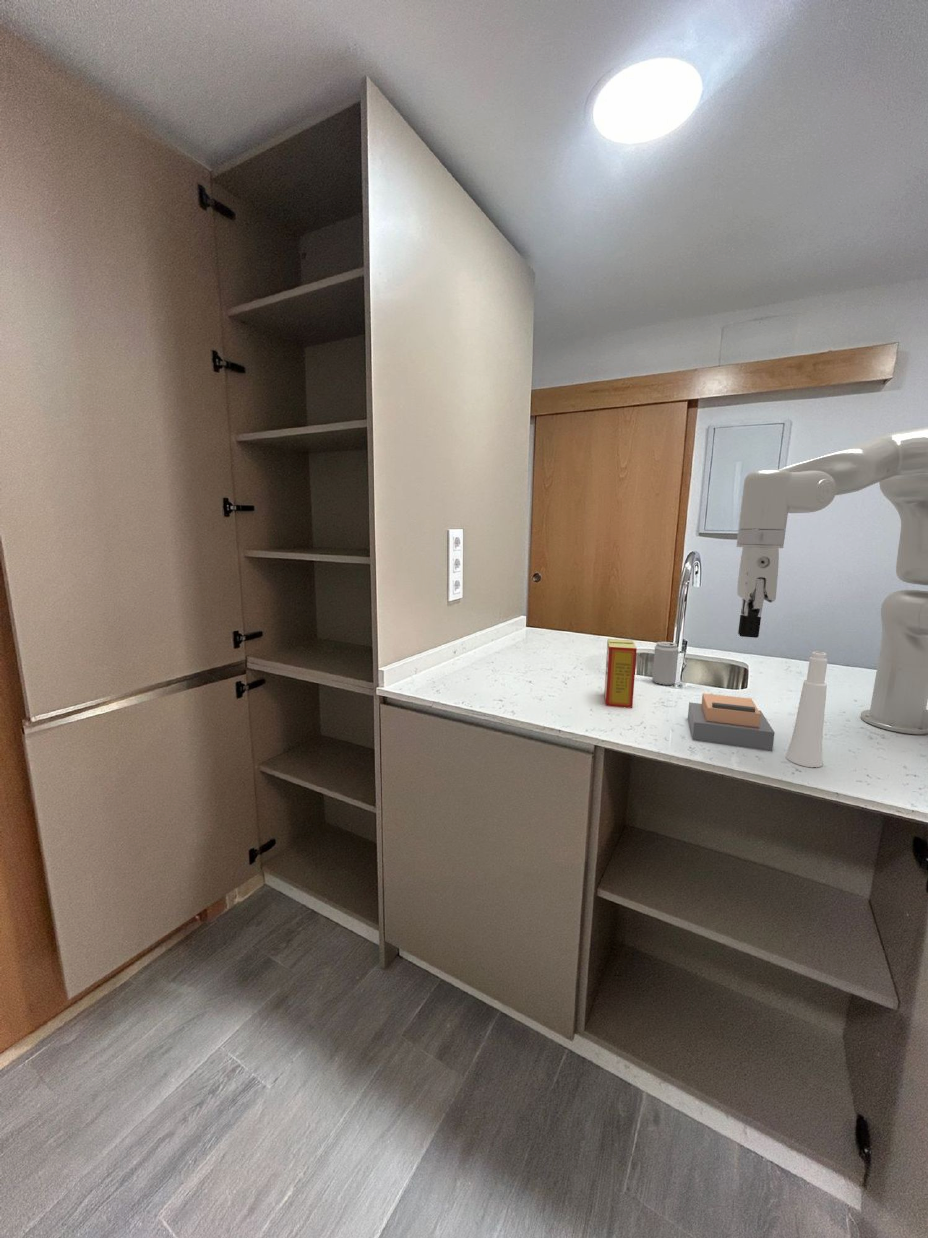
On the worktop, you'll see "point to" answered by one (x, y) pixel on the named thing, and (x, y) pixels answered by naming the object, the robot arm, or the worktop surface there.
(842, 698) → the worktop surface
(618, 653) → the baking soda box
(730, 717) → the orange slotted box
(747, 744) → the socket block
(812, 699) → the cosmetic bottle
